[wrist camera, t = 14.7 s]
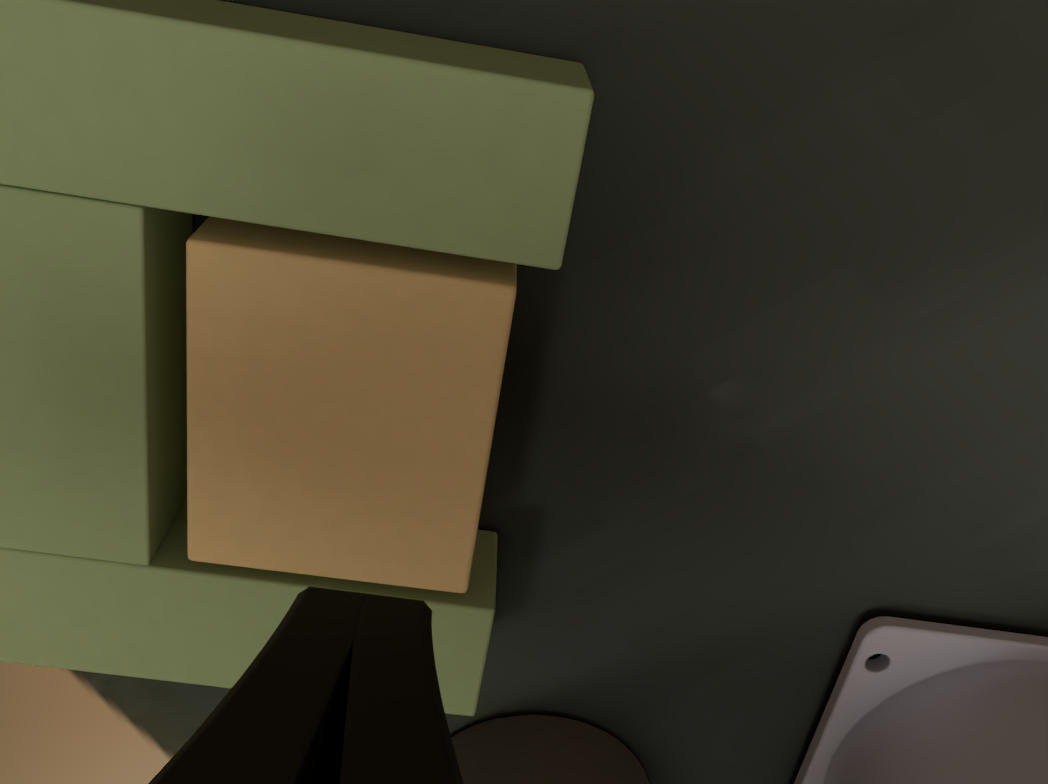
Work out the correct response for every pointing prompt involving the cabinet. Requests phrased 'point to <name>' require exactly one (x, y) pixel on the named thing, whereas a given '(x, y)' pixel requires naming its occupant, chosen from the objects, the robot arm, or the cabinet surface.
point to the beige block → (340, 403)
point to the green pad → (160, 286)
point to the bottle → (543, 753)
